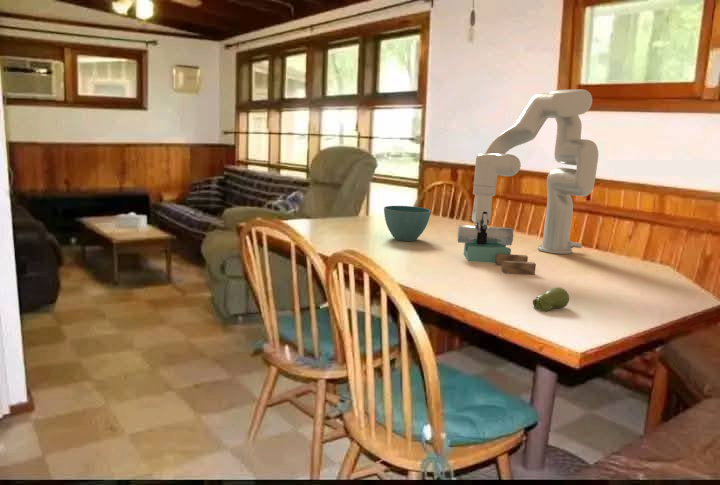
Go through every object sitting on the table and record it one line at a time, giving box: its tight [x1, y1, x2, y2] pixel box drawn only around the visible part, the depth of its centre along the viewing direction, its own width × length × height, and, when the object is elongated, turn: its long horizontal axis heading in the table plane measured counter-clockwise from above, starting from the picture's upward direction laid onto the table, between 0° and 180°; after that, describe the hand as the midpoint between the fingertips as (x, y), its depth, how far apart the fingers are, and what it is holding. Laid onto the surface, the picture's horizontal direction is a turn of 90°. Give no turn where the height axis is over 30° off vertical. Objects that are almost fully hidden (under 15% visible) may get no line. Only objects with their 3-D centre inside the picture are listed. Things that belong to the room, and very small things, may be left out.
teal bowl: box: [383, 205, 431, 242], centre depth 232 cm, size 18×18×12 cm
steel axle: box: [457, 224, 514, 246], centre depth 203 cm, size 18×6×6 cm, turn 88°
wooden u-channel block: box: [494, 253, 537, 276], centre depth 192 cm, size 10×13×4 cm
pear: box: [532, 287, 570, 312], centre depth 150 cm, size 6×5×10 cm
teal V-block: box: [463, 243, 512, 264], centre depth 204 cm, size 14×11×5 cm
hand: (479, 241), depth 204 cm, fingers closed on steel axle, 6 cm apart
